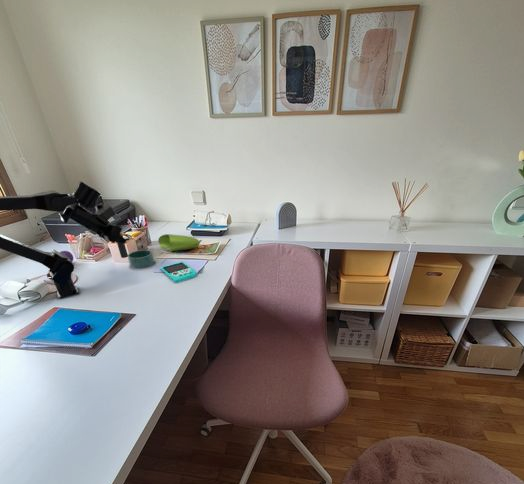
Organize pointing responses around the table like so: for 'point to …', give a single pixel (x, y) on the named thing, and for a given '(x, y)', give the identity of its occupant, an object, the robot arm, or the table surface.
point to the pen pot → (141, 259)
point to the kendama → (67, 256)
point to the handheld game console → (179, 271)
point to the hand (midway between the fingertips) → (123, 241)
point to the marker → (122, 248)
